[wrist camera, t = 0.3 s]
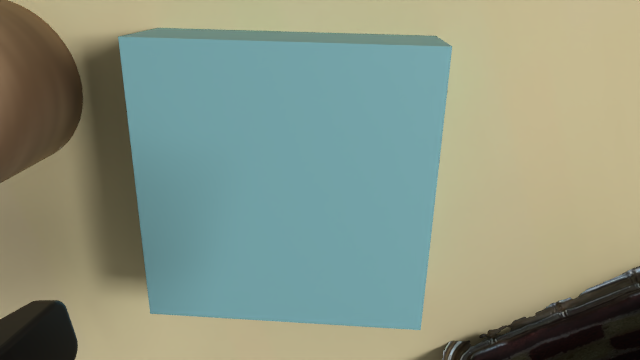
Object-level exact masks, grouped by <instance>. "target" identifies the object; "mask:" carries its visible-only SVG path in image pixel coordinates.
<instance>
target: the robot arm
mask: <svg viewBox="0 0 640 360" xmlns="http://www.w3.org/2000/svg"><path fill="white" fill-rule="evenodd" d="M77 348H78V344H77V338H76V335H75V332H74V329H73V326H72V323H71V320H70V317H69V314H68V312H67V309H66V306H65V305H64V304H63V303H62V302H60V301H57V300H39V301H33V302H31V303H29V304H27V305H25V306H24V307H22V308H20V309H18V310H16V311H15V312H13V313H11V314H9V315H7V316H6V317H4V318H2V319H0V360H75V358H76V354H77Z"/></svg>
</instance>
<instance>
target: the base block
mask: <svg viewBox="0 0 640 360" xmlns="http://www.w3.org/2000/svg"><path fill="white" fill-rule="evenodd" d="M118 40H119V48H120V57H121V65H122V74H123V82H124V91H125V100H126V108H127V117H128V125H129V134H130V143H131V151H132V160H133V168H134V177H135V186H136V194H137V203H138V211H139V220H140V229H141V237H142V246H143V254H144V263H145V272H146V280H147V289H148V297H149V306H150V314H166V315H183V316H199V317H215V318H232V319H248V320H265V321H281V322H298V323H314V324H330V325H347V326H363V327H380V328H396V329H413V330H421V321H422V312H423V303H424V294H425V285H426V276H427V267H428V258H429V249H430V240H431V231H432V222H433V213H434V204H435V195H436V186H437V177H438V168H439V159H440V150H441V141H442V132H443V123H444V114H445V105H446V96H447V87H448V78H449V69H450V60H451V52H452V46H450V45H449V44H447V43H446V42H444V41H443V40H441V39H440V38H438V37H437V36H420V35H385V34H350V33H315V32H281V31H246V30H211V29H176V28H156V29H151V30H146V31H142V32H137V33H133V34H128V35H124V36H119V37H118Z"/></svg>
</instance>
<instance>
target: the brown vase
mask: <svg viewBox="0 0 640 360" xmlns="http://www.w3.org/2000/svg"><path fill="white" fill-rule="evenodd" d="M82 103H83V94H82V85H81V80H80V75H79V72H78V69H77V66H76V64H75V62H74V60H73V57H72V55H71V53H70V52H69V50H68V48H67V47H66V45H65V44H64V42H63V41H62V40H61V38H60V37H59V36H58V34H57V33H56V32H55V31H54V30H53V29H52V28H51V27H50V26H49V25H48V24H47V23H46V22H45V21H43V20H42V19H41V18H40V17H39V16H37V15H36V14H34V13H33V12H31V11H30V10H28V9H26V8H24V7H22V6H20V5H18V4H16V3H13V2H11V1H8V0H0V183H1V182H3V181H5V180H7V179H9V178H10V177H12V176H14V175H16V174H18V173H19V172H21V171H23V170H25V169H27V168H28V167H30V166H32V165H34V164H36V163H38V162H39V161H41V160H43V159H45V158H47V157H48V156H50V155H52V154H54V153H55V152H57V151H58V150H60V149H61V148H62V147H63V146H64V145H65V144H66V143H67V142H68V141H69V140H70V138H71V137H72V136H73V134H74V132H75V130H76V128H77V126H78V123H79V120H80V117H81V112H82Z"/></svg>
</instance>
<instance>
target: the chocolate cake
mask: <svg viewBox="0 0 640 360" xmlns="http://www.w3.org/2000/svg"><path fill="white" fill-rule="evenodd" d="M506 327H511V330H510V331H509V332H508V333H506V334H503V335H498V336H497V334H496V333H498V332H500V331H501V330H503V329H504V328H506ZM483 337H485V338H484V340H482V341H481V342H480V343H478V344H477V345H475V346H471V344H470V341H451V342H449V343H448V345H447V346H446V349H445V350H443V358H442V359H443V360H640V266H639V267H636V268H633V269H631V270H629V271H627V272H625V273H623V274H622V275H620V276H618V277H615V278H613V279H611V280H609V281H605V282H604V283H602V284H600V285H596V286H594V287H591V288H589V289H587V290H586V291H584V292H583V293H581V294H580V295H579V296H578V298H576V299H572V298H567V299H565V300H560V301H558V302H556V303H552V304H550V305H549V306H548V307H546V308H545V309H544V310H542V311H539V312H537V313H536V316H533V317H529V318H526V317H523V318H521V319H518V320H515V321H513V322H512V323H511V325H508V326H502V327H500V328H499V329H494V330H489V331H488V333H487V334H482V335H480V338H483Z"/></svg>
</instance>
